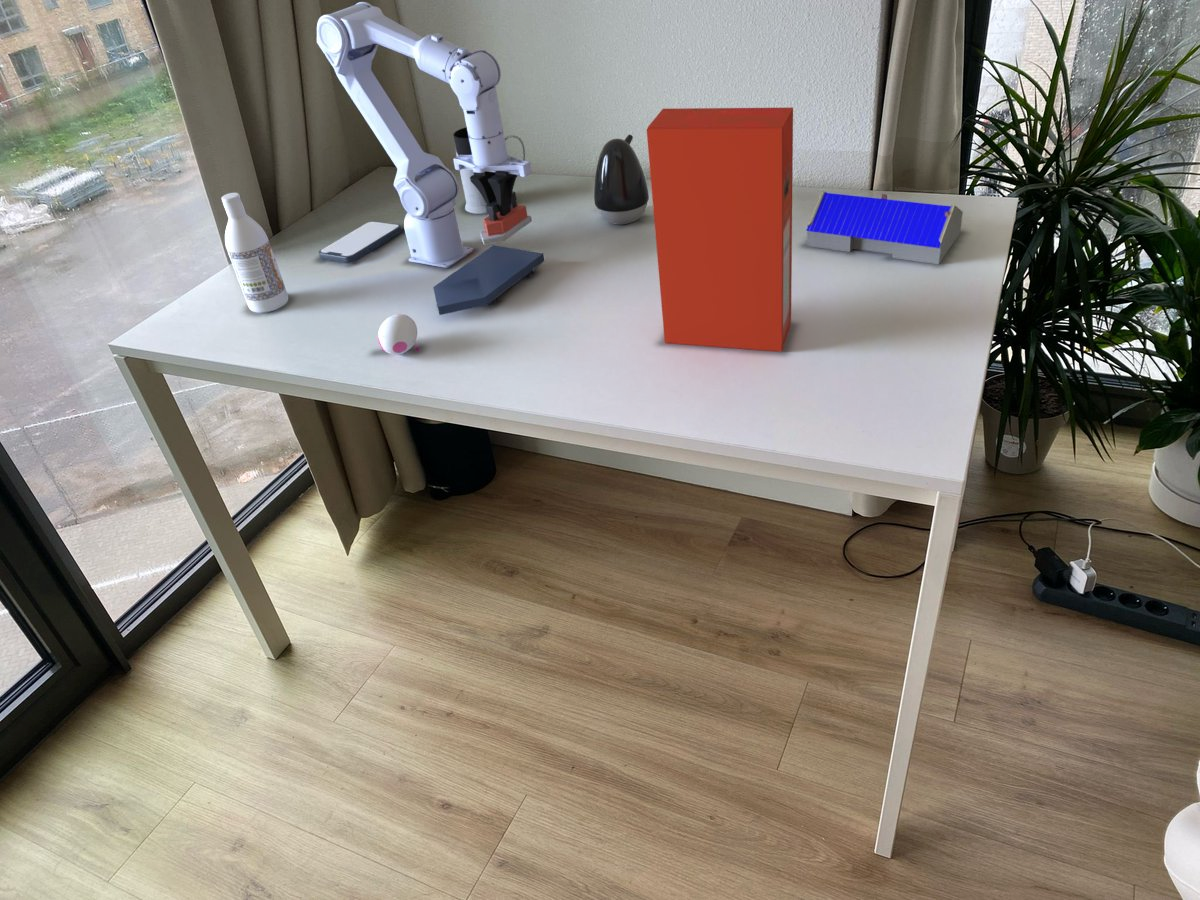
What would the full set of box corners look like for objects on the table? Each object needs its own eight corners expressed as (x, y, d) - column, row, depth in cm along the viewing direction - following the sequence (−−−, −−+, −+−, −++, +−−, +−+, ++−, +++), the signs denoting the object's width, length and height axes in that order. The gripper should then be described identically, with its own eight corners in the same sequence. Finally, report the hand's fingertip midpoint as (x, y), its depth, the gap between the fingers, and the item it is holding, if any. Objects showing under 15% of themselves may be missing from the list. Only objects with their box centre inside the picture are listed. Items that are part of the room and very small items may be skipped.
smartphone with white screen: (371, 227, 188) (317, 260, 177) (369, 220, 187) (314, 252, 176) (405, 232, 184) (352, 265, 173) (403, 224, 183) (349, 257, 172)
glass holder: (471, 197, 195) (456, 125, 186) (537, 194, 192) (525, 120, 183) (460, 214, 188) (444, 140, 179) (528, 211, 185) (516, 135, 176)
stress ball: (400, 357, 150) (369, 328, 147) (434, 329, 147) (403, 299, 144) (389, 381, 144) (356, 351, 141) (424, 352, 141) (391, 321, 138)
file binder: (781, 353, 132) (782, 127, 113) (664, 344, 138) (646, 127, 119) (791, 325, 138) (793, 106, 119) (678, 318, 143) (663, 107, 124)
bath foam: (292, 306, 162) (254, 196, 150) (252, 318, 160) (211, 207, 148) (285, 291, 168) (248, 184, 156) (246, 302, 165) (206, 195, 154)
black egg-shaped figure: (660, 211, 178) (654, 131, 169) (633, 233, 171) (625, 151, 162) (615, 205, 183) (607, 127, 174) (586, 226, 176) (576, 146, 167)
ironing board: (416, 317, 154) (411, 301, 152) (496, 260, 168) (493, 244, 166) (468, 329, 148) (464, 312, 147) (546, 268, 163) (543, 252, 161)
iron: (509, 218, 165) (503, 187, 162) (532, 221, 163) (527, 190, 159) (472, 243, 158) (465, 212, 155) (496, 247, 156) (489, 215, 152)
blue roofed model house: (961, 231, 156) (966, 189, 152) (937, 266, 147) (942, 222, 143) (835, 215, 167) (836, 176, 163) (805, 247, 158) (806, 206, 154)
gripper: (436, 138, 151) (453, 217, 159) (507, 144, 145) (522, 227, 153) (462, 124, 156) (477, 201, 164) (533, 129, 149) (545, 210, 157)
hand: (500, 213), depth 159 cm, fingers closed on iron
